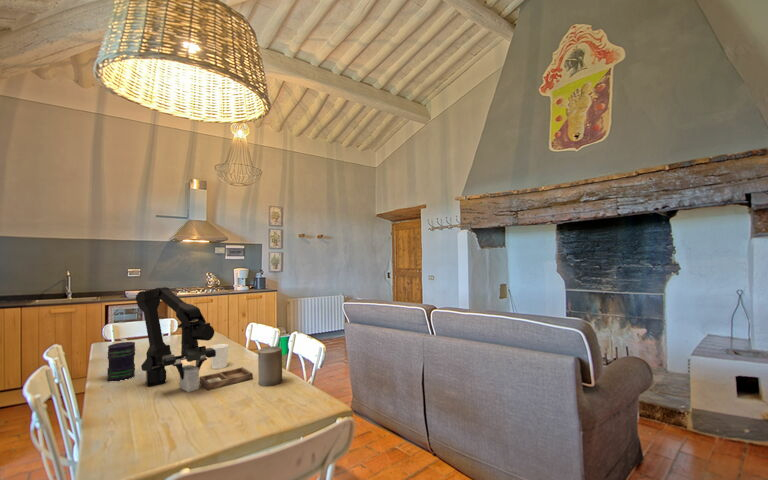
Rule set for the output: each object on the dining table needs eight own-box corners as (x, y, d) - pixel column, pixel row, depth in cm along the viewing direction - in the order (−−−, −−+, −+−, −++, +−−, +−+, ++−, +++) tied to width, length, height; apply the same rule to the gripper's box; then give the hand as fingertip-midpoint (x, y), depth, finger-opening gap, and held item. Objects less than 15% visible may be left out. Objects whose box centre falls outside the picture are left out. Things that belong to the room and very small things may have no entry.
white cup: (223, 369, 166) (223, 348, 167) (207, 369, 166) (207, 348, 167) (231, 364, 174) (231, 343, 174) (215, 364, 174) (215, 344, 175)
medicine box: (199, 389, 141) (199, 367, 141) (187, 392, 138) (187, 370, 138) (190, 385, 146) (190, 364, 146) (179, 388, 143) (179, 366, 143)
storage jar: (111, 384, 149) (111, 348, 150) (104, 379, 155) (104, 345, 156) (138, 377, 157) (138, 343, 158) (130, 373, 163) (130, 340, 164)
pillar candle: (285, 378, 152) (285, 343, 153) (276, 386, 142) (276, 349, 143) (264, 378, 153) (264, 343, 154) (253, 386, 143) (253, 349, 144)
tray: (207, 390, 140) (207, 384, 140) (199, 382, 149) (199, 376, 149) (252, 379, 152) (252, 373, 152) (242, 372, 161) (242, 367, 161)
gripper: (167, 346, 130) (166, 389, 130) (220, 338, 143) (220, 377, 142) (161, 341, 139) (160, 381, 138) (211, 334, 151) (211, 370, 150)
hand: (189, 377), depth 142 cm, fingers open, 5 cm apart
